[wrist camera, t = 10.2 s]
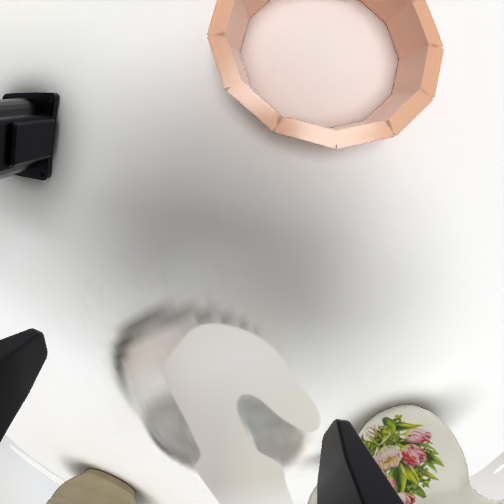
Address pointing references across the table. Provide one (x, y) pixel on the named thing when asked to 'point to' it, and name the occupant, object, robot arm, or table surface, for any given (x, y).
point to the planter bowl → (93, 490)
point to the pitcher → (419, 457)
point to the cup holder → (385, 116)
